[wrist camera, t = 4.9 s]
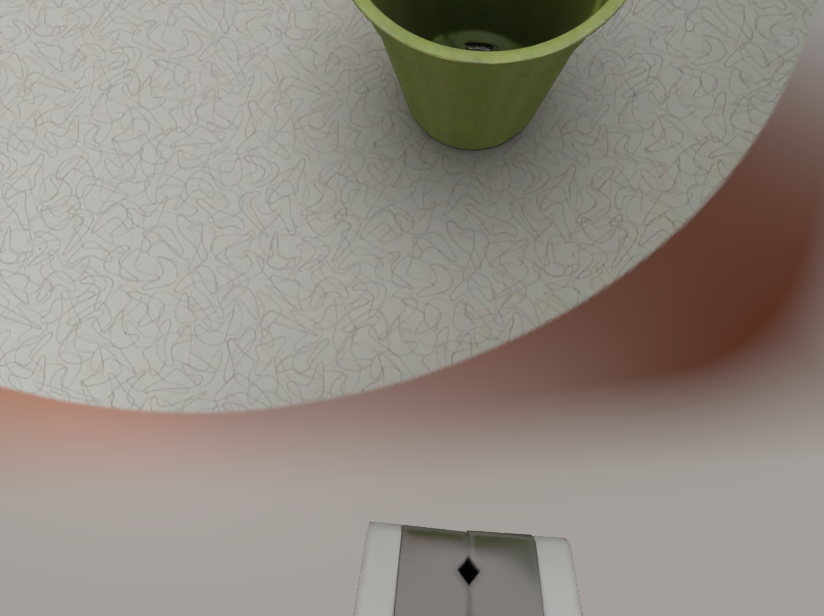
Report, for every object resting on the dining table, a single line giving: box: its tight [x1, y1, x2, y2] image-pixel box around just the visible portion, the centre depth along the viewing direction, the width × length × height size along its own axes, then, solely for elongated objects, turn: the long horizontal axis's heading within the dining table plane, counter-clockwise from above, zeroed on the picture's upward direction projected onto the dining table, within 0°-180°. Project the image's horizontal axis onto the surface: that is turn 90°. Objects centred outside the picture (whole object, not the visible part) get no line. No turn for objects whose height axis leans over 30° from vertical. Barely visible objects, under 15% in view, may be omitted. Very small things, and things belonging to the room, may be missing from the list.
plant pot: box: [352, 0, 626, 150], centre depth 28 cm, size 12×12×11 cm
